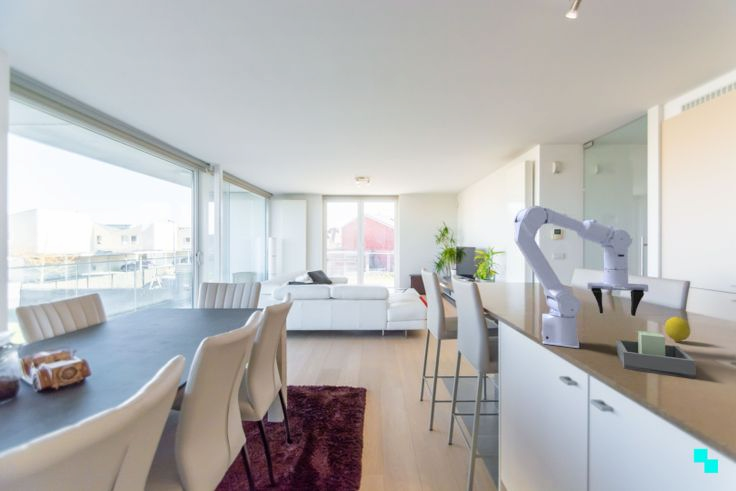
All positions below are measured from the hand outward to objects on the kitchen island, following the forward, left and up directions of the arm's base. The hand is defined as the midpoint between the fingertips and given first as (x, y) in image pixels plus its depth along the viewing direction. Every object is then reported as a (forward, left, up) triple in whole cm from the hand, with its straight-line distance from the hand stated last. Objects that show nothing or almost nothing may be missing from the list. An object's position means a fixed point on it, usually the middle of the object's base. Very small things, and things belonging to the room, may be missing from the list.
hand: (616, 314), depth 96 cm
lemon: (+16, +12, -10) cm, 22 cm away
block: (+5, -16, -9) cm, 19 cm away
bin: (+5, -16, -9) cm, 19 cm away
